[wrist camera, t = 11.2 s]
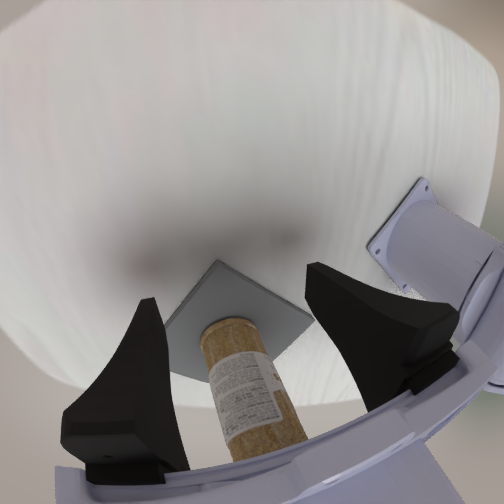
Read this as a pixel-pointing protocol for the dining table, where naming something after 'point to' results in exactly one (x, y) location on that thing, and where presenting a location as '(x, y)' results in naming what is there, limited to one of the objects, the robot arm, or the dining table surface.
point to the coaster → (224, 307)
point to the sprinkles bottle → (248, 391)
